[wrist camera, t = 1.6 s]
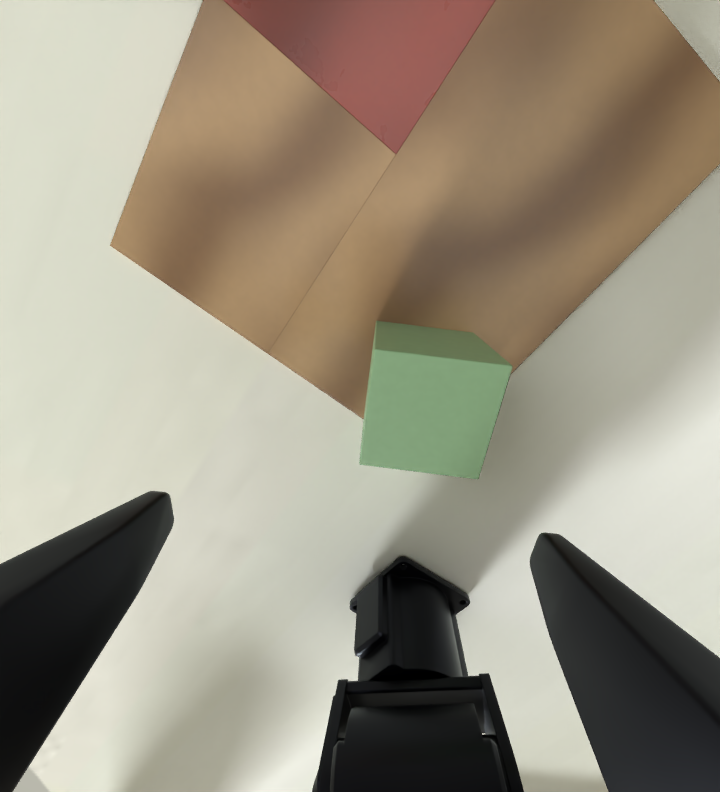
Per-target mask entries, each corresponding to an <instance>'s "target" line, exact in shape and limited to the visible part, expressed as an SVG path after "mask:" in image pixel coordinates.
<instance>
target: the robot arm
mask: <svg viewBox="0 0 720 792" xmlns="http://www.w3.org/2000/svg"><path fill="white" fill-rule="evenodd" d="M173 523H174V516H173V510H172V504H171V498H170V495H169V494H168V493H166V492H158V491H150V492H147V493H145V494H143V495H141V496H139V497H137V498H135V499H133V500H131V501H129V502H127V503H125V504H123V505H120V506H118V507H116V508H114V509H112V510H110V511H108V512H106V513H104V514H102V515H100V516H98V517H96V518H94V519H92V520H90V521H88V522H86V523H84V524H82V525H79V526H77V527H75V528H73V529H71V530H69V531H67V532H65V533H63V534H61V535H59V536H57V537H55V538H53V539H51V540H49V541H47V542H45V543H43V544H40V545H38V546H36V547H34V548H32V549H30V550H28V551H26V552H24V553H22V554H20V555H18V556H16V557H14V558H12V559H10V560H8V561H6V562H4V563H1V564H0V792H13V790H14V789H15V787H16V786H17V784H18V782H19V781H20V779H21V778H22V776H23V775H24V773H25V771H26V770H27V768H28V767H29V765H30V764H31V762H32V760H33V759H34V757H35V756H36V754H37V752H38V751H39V749H40V748H41V746H42V745H43V743H44V741H45V740H46V738H47V737H48V735H49V734H50V732H51V730H52V729H53V727H54V726H55V724H56V722H57V721H58V719H59V718H60V716H61V715H62V713H63V711H64V710H65V708H66V707H67V705H68V704H69V702H70V700H71V699H72V697H73V696H74V694H75V693H76V691H77V689H78V688H79V686H80V685H81V683H82V681H83V680H84V678H85V677H86V675H87V674H88V672H89V670H90V669H91V667H92V666H93V664H94V663H95V661H96V659H97V658H98V656H99V655H100V653H101V651H102V650H103V648H104V647H105V645H106V644H107V642H108V640H109V639H110V637H111V636H112V634H113V633H114V631H115V629H116V628H117V626H118V625H119V623H120V621H121V620H122V618H123V617H124V615H125V614H126V612H127V610H128V609H129V607H130V606H131V604H132V603H133V601H134V599H135V598H136V596H137V594H138V593H139V591H140V589H141V587H142V586H143V584H144V582H145V580H146V578H147V576H148V574H149V572H150V570H151V568H152V566H153V564H154V563H155V561H156V559H157V557H158V555H159V553H160V551H161V549H162V547H163V545H164V543H165V541H166V539H167V537H168V535H169V533H170V531H171V529H172V526H173ZM402 564H404V565H402ZM530 567H531V571H532V575H533V579H534V582H535V586H536V589H537V593H538V597H539V600H540V604H541V607H542V611H543V615H544V618H545V622H546V625H547V629H548V632H549V635H550V638H551V641H552V644H553V647H554V649H555V652H556V655H557V657H558V660H559V662H560V665H561V668H562V670H563V673H564V676H565V678H566V681H567V683H568V686H569V689H570V691H571V694H572V697H573V699H574V702H575V705H576V707H577V710H578V712H579V715H580V718H581V720H582V723H583V726H584V728H585V731H586V733H587V736H588V739H589V741H590V744H591V747H592V749H593V752H594V754H595V757H596V760H597V762H598V765H599V768H600V770H601V773H602V775H603V778H604V781H605V783H606V786H607V789H608V791H609V792H720V658H719V657H718V656H717V655H715V654H714V653H713V652H711V651H710V650H709V649H707V648H706V647H705V646H704V645H702V644H701V643H700V642H698V641H697V640H696V639H695V638H693V637H692V636H691V635H689V634H688V633H687V632H685V631H684V630H683V629H682V628H680V627H679V626H678V625H676V624H675V623H674V622H673V621H671V620H670V619H669V618H667V617H666V616H665V615H663V614H662V613H661V612H660V611H658V610H657V609H656V608H654V607H653V606H652V605H651V604H649V603H648V602H647V601H645V600H644V599H643V598H641V597H640V596H639V595H638V594H636V593H635V592H634V591H632V590H631V589H630V588H629V587H627V586H626V585H625V584H623V583H622V582H621V581H619V580H618V579H617V578H616V577H614V576H613V575H612V574H610V573H609V572H608V571H606V570H605V569H604V568H603V567H601V566H600V565H599V564H597V563H596V562H595V561H594V560H592V559H591V558H590V557H588V556H587V555H586V554H584V553H583V552H582V551H581V550H579V549H578V548H577V547H575V546H574V545H573V544H572V543H570V542H569V541H568V540H566V539H565V538H564V537H562V536H561V535H559V534H553V533H541V534H540V535H539V536H538V538H537V541H536V544H535V546H534V549H533V551H532V554H531V557H530ZM469 604H470V600H469V596H468V595H467V594H466V593H465V592H463V591H461V590H460V589H458V588H456V587H455V586H453V585H451V584H450V583H448V582H446V581H445V580H443V579H441V578H440V577H438V576H437V575H435V574H433V573H432V572H430V571H428V570H427V569H425V568H423V567H422V566H420V565H418V564H417V563H415V562H413V561H412V560H410V559H409V558H407V557H399V558H397V559H396V560H395V561H394V562H393V563H392V564H391V565H390V566H388V567H387V568H386V569H385V570H384V571H383V572H382V573H381V574H380V575H378V576H377V577H376V578H375V579H373V580H372V581H371V582H370V583H369V584H368V585H367V586H366V587H365V588H363V589H362V590H361V591H360V592H359V593H358V594H357V595H356V596H355V597H354V598H353V599H352V600H351V601H350V610H352V611H353V612H355V613H357V615H356V630H355V646H354V651H355V655H356V656H358V657H359V671H358V681H348V679H346V680H338V684H337V689H336V694H335V696H334V697H333V701H332V706H331V711H330V716H329V721H328V726H327V731H326V736H325V740H324V745H323V750H322V755H321V760H320V765H319V770H318V773H317V776H316V779H315V782H314V785H313V790H312V792H524V791H523V786H522V782H521V779H520V775H519V771H518V767H517V764H516V760H515V757H514V753H513V750H512V747H511V744H510V740H509V737H508V734H507V731H506V727H505V724H504V721H503V718H502V714H501V711H500V708H499V705H498V701H497V698H496V695H495V692H494V688H493V685H492V682H491V679H490V675H489V673H486V674H479V676H468V672H467V668H466V663H465V658H464V653H463V648H462V644H461V639H460V634H459V629H458V624H457V620H456V614H457V613H459V612H460V611H461V610H463V609H464V608H466V607H467V606H468V605H469ZM482 733H485V734H486V735H482Z"/></svg>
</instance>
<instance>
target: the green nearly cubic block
mask: <svg viewBox="0 0 720 792" xmlns="http://www.w3.org/2000/svg"><path fill="white" fill-rule="evenodd" d="M512 367H513V366H512V365H511V364H510V363H509V362H508V361H506V360H505V359H504V358H503V357H502V356H500V355H499V354H498V353H497V352H496V351H495V350H493V349H492V348H491V347H490V346H489V345H487V344H486V343H485V342H484V341H483V340H482V339H480V338H479V337H478V336H477V335H476V334H474V333H472V332H464V331H456V330H448V329H440V328H431V327H423V326H415V325H407V324H399V323H391V322H382V321H376V326H375V334H374V341H373V349H372V357H371V364H370V372H369V380H368V388H367V395H366V403H365V412H364V422H363V432H362V442H361V452H360V462H359V464H360V465H368V466H376V467H384V468H392V469H400V470H408V471H416V472H424V473H432V474H440V475H448V476H456V477H464V478H471V479H479V475H480V472H481V469H482V465H483V462H484V459H485V456H486V452H487V449H488V446H489V442H490V439H491V436H492V433H493V429H494V426H495V423H496V420H497V416H498V413H499V410H500V406H501V403H502V400H503V397H504V393H505V390H506V387H507V383H508V380H509V377H510V374H511V370H512Z"/></svg>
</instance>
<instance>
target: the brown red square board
mask: <svg viewBox="0 0 720 792" xmlns="http://www.w3.org/2000/svg"><path fill="white" fill-rule="evenodd" d="M719 164H720V81H719V80H718V79H717V78H716V77H715V75H714V74H713V73H712V72H711V70H710V69H709V68H708V67H707V65H706V64H705V63H704V62H703V61H702V59H701V58H700V57H699V56H698V54H697V53H696V52H695V51H694V49H693V48H692V47H691V46H690V44H689V43H688V42H687V41H686V40H685V38H684V37H683V36H682V35H681V33H680V32H679V31H678V30H677V28H676V27H675V26H674V25H673V24H672V22H671V21H670V20H669V19H668V17H667V16H666V15H665V14H664V12H663V11H662V10H661V9H660V7H659V6H658V5H657V4H656V3H655V1H654V0H203V2H202V5H201V7H200V10H199V13H198V15H197V18H196V20H195V23H194V26H193V28H192V31H191V34H190V36H189V39H188V42H187V44H186V47H185V49H184V52H183V55H182V57H181V60H180V63H179V65H178V68H177V70H176V73H175V76H174V78H173V81H172V84H171V86H170V89H169V92H168V94H167V97H166V99H165V102H164V105H163V107H162V110H161V113H160V115H159V118H158V120H157V123H156V126H155V128H154V131H153V134H152V136H151V139H150V141H149V144H148V147H147V149H146V152H145V155H144V157H143V160H142V163H141V165H140V168H139V170H138V173H137V176H136V178H135V181H134V184H133V186H132V189H131V191H130V194H129V197H128V199H127V202H126V205H125V207H124V210H123V213H122V215H121V218H120V220H119V223H118V226H117V228H116V231H115V234H114V236H113V239H112V241H111V244H110V246H112V247H113V248H114V249H116V250H117V251H119V252H120V253H122V254H123V255H125V256H126V257H128V258H129V259H131V260H132V261H133V262H135V263H136V264H138V265H139V266H141V267H142V268H144V269H145V270H147V271H148V272H149V273H151V274H152V275H154V276H155V277H157V278H158V279H160V280H161V281H163V282H164V283H166V284H167V285H168V286H170V287H171V288H173V289H174V290H176V291H177V292H179V293H180V294H182V295H183V296H184V297H186V298H187V299H189V300H190V301H192V302H193V303H195V304H196V305H198V306H199V307H201V308H202V309H203V310H205V311H206V312H208V313H209V314H211V315H212V316H214V317H215V318H217V319H218V320H219V321H221V322H222V323H224V324H225V325H227V326H228V327H230V328H231V329H233V330H234V331H236V332H237V333H238V334H240V335H241V336H243V337H244V338H246V339H247V340H249V341H250V342H252V343H253V344H254V345H256V346H257V347H259V348H260V349H262V350H263V351H265V352H266V353H268V354H269V355H271V356H272V357H273V358H275V359H276V360H278V361H279V362H281V363H282V364H284V365H285V366H287V367H288V368H289V369H291V370H292V371H294V372H295V373H297V374H298V375H300V376H301V377H303V378H304V379H306V380H307V381H308V382H310V383H311V384H313V385H314V386H316V387H317V388H319V389H320V390H322V391H323V392H324V393H326V394H327V395H329V396H330V397H332V398H333V399H335V400H336V401H338V402H339V403H341V404H342V405H343V406H345V407H346V408H348V409H349V410H351V411H352V412H354V413H355V414H357V415H358V416H359V417H361V418H362V419H364V412H365V403H366V395H367V388H368V380H369V372H370V364H371V357H372V349H373V341H374V334H375V326H376V321H382V322H391V323H399V324H407V325H415V326H423V327H431V328H440V329H448V330H456V331H464V332H472V333H474V334H476V335H477V336H478V337H479V338H480V339H482V340H483V341H484V342H485V343H486V344H487V345H489V346H490V347H491V348H492V349H493V350H495V351H496V352H497V353H498V354H499V355H500V356H502V357H503V358H504V359H505V360H506V361H508V362H509V363H510V364H511V365H512V366H513V367H512V370H511V373H512V372H513V371H514V370H515V369H516V368H517V367H518V366H519V365H520V364H521V363H522V362H523V361H524V360H525V359H526V358H527V357H528V356H529V355H530V354H531V353H532V352H533V351H534V350H535V349H536V348H537V347H538V346H539V345H540V344H541V343H542V342H543V341H544V340H545V339H546V338H547V337H548V336H549V335H550V334H551V333H552V332H553V331H554V330H555V329H556V328H557V327H558V326H559V325H560V324H561V323H562V322H563V321H564V320H565V319H566V318H567V317H568V316H569V315H570V314H571V313H572V312H573V311H574V310H575V309H576V308H577V307H578V306H579V305H580V304H581V303H582V302H583V301H584V300H585V299H586V298H587V297H588V296H589V295H590V294H591V293H592V292H593V291H594V290H595V289H596V288H597V287H598V286H599V285H600V284H601V283H602V282H603V281H604V280H605V279H606V278H607V277H608V276H609V275H610V274H611V273H612V272H613V271H614V270H615V269H616V268H617V267H618V266H619V265H620V264H621V263H622V262H623V261H624V260H625V259H626V258H627V257H628V256H629V255H630V254H631V253H632V252H633V251H634V250H635V249H636V248H637V247H638V246H639V245H640V244H641V243H642V242H643V241H644V240H645V239H646V238H647V237H648V236H649V235H650V234H651V233H652V232H653V231H654V230H655V229H656V228H657V227H658V226H659V225H660V223H661V222H662V221H663V220H664V219H665V218H666V217H667V216H668V215H669V214H670V213H671V212H672V211H673V210H674V209H675V208H676V207H677V206H678V205H679V204H680V203H681V202H682V201H683V200H684V199H685V198H686V197H687V196H688V195H689V194H690V193H691V192H692V191H693V190H694V189H695V188H696V187H697V186H698V185H699V184H700V183H701V182H702V181H703V180H704V179H705V178H706V177H707V176H708V175H709V174H710V173H711V172H712V171H713V170H714V169H715V168H716V167H717V166H718V165H719Z"/></svg>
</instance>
